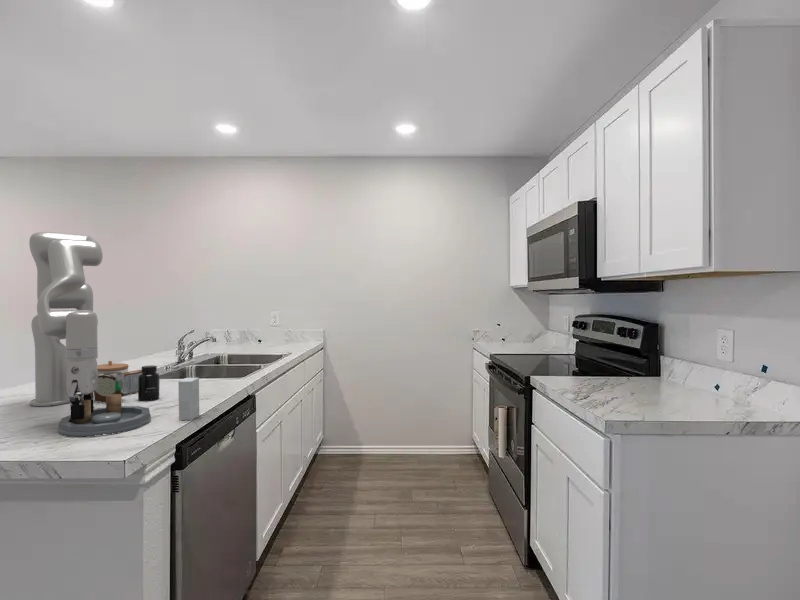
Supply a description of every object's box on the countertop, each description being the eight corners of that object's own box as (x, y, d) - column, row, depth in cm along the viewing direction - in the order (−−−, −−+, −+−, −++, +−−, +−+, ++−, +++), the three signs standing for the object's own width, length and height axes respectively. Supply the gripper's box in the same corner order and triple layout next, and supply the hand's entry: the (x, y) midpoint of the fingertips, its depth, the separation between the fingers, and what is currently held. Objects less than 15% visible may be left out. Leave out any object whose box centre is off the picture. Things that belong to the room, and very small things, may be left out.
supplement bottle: (150, 401, 161) (149, 368, 161) (133, 400, 162) (133, 367, 162) (163, 397, 168) (163, 365, 167) (147, 396, 169) (147, 364, 169)
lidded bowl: (106, 392, 175) (106, 364, 174) (83, 390, 179) (83, 362, 179) (135, 386, 186) (135, 359, 186) (114, 384, 191) (113, 358, 191)
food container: (132, 400, 163) (132, 372, 163) (117, 404, 157) (116, 375, 157) (107, 397, 167) (107, 370, 167) (91, 401, 161) (91, 373, 161)
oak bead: (78, 424, 129) (78, 403, 129) (71, 422, 131) (71, 402, 131) (93, 421, 132) (93, 400, 132) (86, 419, 134) (86, 399, 134)
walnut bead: (103, 415, 138) (103, 396, 138) (116, 412, 142) (116, 393, 142) (110, 417, 136) (110, 397, 136) (124, 414, 140) (124, 395, 140)
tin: (147, 388, 182) (147, 367, 182) (153, 389, 181) (153, 368, 181) (111, 396, 168) (111, 374, 168) (117, 397, 167) (117, 374, 167)
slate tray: (42, 428, 129) (42, 419, 129) (124, 410, 149) (124, 402, 149) (84, 442, 118) (84, 431, 118) (167, 420, 138) (167, 411, 138)
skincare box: (185, 415, 144) (185, 377, 144) (199, 414, 144) (199, 377, 144) (178, 420, 138) (177, 381, 138) (192, 420, 138) (192, 381, 138)
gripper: (84, 357, 124) (85, 423, 124) (107, 350, 140) (107, 407, 141) (52, 358, 122) (53, 425, 122) (79, 350, 138) (79, 409, 139)
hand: (82, 415), depth 131 cm, fingers open, 6 cm apart
